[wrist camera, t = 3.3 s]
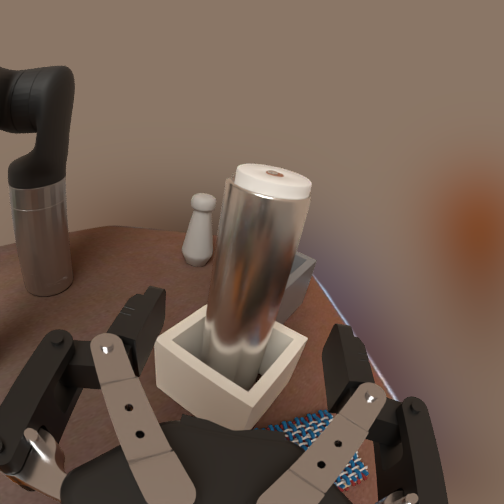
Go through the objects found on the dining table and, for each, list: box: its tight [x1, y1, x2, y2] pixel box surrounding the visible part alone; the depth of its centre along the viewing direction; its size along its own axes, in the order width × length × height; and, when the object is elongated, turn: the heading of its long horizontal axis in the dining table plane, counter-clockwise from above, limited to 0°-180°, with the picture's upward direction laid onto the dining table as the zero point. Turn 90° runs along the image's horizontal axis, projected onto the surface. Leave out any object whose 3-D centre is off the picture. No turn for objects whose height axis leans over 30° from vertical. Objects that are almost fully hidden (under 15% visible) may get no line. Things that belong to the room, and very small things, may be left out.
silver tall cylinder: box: [200, 164, 312, 392], centre depth 27 cm, size 6×6×25 cm
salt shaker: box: [182, 193, 216, 267], centre depth 54 cm, size 6×6×13 cm
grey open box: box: [276, 251, 316, 324], centre depth 47 cm, size 11×11×8 cm
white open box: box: [154, 304, 308, 431], centre depth 31 cm, size 11×11×8 cm
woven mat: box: [255, 410, 369, 492], centre depth 25 cm, size 10×11×2 cm
